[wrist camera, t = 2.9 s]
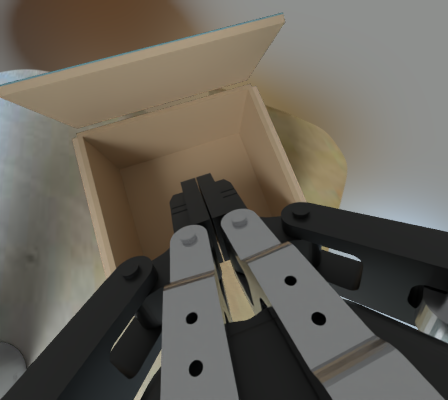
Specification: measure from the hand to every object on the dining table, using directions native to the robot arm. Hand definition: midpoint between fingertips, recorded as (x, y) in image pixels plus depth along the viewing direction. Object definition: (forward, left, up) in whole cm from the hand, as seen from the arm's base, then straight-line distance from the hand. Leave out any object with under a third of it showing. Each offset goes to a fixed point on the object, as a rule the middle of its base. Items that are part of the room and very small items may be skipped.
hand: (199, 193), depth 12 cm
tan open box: (-3, +6, -27) cm, 28 cm away
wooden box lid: (-7, +12, -9) cm, 16 cm away
